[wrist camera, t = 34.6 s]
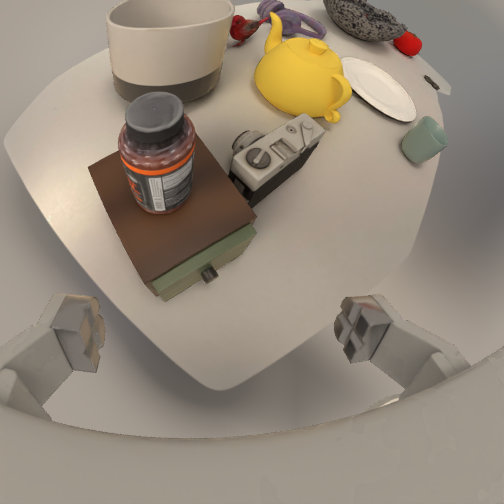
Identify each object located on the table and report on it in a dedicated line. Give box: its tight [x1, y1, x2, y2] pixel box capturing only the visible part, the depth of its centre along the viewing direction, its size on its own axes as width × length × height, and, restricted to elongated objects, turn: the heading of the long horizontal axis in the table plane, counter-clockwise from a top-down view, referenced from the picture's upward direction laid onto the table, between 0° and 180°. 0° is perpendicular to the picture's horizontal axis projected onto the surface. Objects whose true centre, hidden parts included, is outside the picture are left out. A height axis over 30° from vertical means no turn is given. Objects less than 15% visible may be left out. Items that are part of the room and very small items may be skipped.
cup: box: [402, 116, 448, 164], centre depth 47 cm, size 8×8×10 cm
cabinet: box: [88, 132, 257, 297], centre depth 30 cm, size 15×13×10 cm
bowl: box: [323, 0, 407, 41], centre depth 62 cm, size 31×31×15 cm
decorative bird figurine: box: [230, 15, 269, 47], centre depth 46 cm, size 3×18×10 cm, turn 146°
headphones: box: [257, 0, 326, 39], centre depth 56 cm, size 18×8×20 cm
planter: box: [106, 0, 235, 103], centre depth 33 cm, size 19×19×18 cm
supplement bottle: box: [118, 92, 196, 214], centre depth 20 cm, size 6×6×11 cm
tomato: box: [393, 31, 422, 56], centre depth 71 cm, size 12×13×12 cm
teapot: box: [254, 12, 352, 123], centre depth 41 cm, size 25×18×14 cm
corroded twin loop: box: [425, 75, 440, 89], centre depth 72 cm, size 5×8×1 cm, turn 53°
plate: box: [341, 57, 416, 122], centre depth 56 cm, size 25×25×2 cm
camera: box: [228, 113, 326, 209], centre depth 35 cm, size 14×8×10 cm, turn 136°
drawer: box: [151, 223, 257, 302], centre depth 30 cm, size 15×11×8 cm
